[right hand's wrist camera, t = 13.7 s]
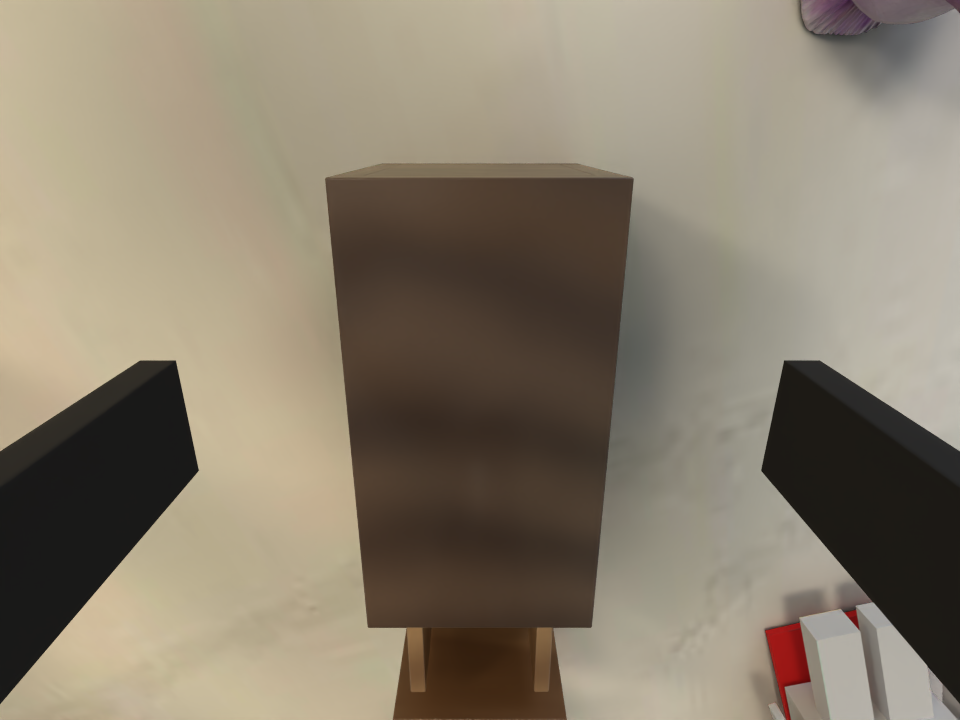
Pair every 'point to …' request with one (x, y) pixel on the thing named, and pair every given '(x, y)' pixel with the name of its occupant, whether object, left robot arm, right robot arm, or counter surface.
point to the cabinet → (479, 384)
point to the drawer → (479, 675)
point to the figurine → (868, 13)
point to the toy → (852, 670)
